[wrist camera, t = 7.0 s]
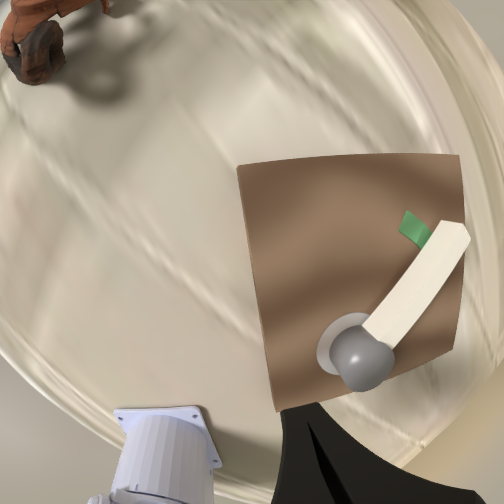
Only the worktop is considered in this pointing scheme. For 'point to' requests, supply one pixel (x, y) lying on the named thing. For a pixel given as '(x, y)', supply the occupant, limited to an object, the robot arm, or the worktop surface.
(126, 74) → the worktop surface
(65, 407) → the worktop surface
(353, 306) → the brown flat square board
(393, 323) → the peg lever
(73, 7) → the pottery mug
